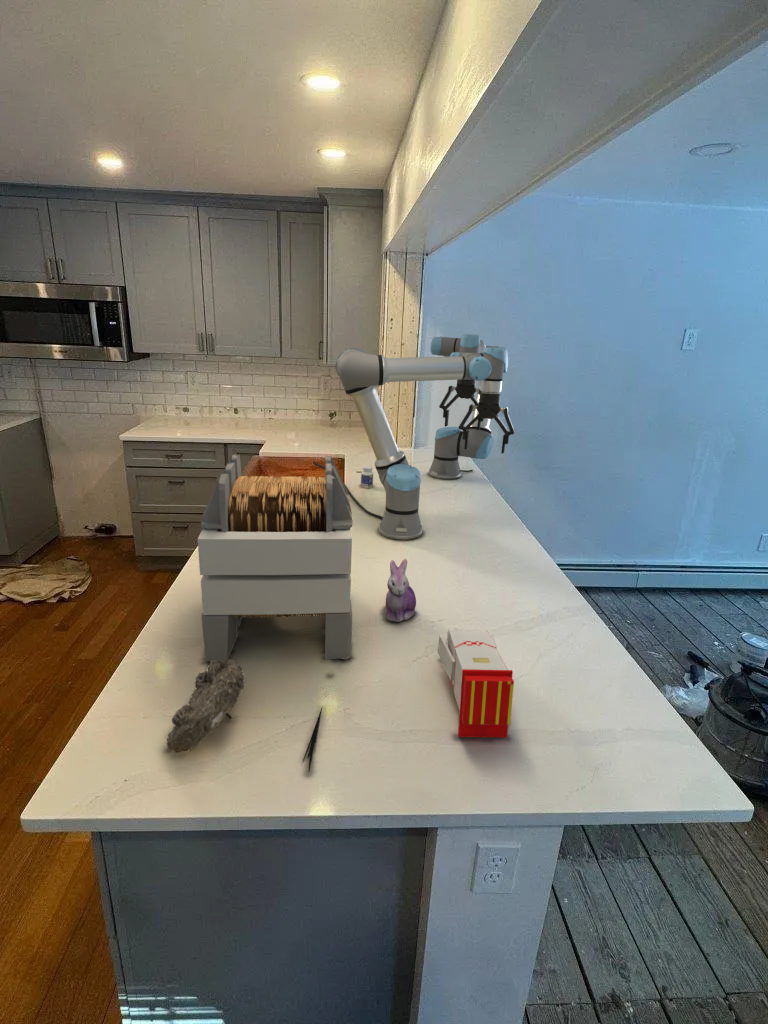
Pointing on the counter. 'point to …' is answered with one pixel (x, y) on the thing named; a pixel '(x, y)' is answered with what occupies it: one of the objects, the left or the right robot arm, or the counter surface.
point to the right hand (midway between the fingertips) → (462, 427)
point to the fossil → (206, 705)
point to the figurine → (399, 594)
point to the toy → (478, 682)
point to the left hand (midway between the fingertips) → (484, 450)
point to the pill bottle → (367, 477)
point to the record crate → (276, 555)
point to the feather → (313, 740)
